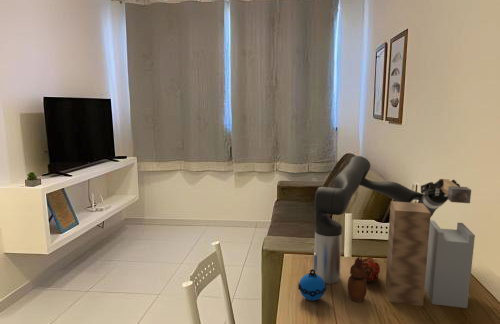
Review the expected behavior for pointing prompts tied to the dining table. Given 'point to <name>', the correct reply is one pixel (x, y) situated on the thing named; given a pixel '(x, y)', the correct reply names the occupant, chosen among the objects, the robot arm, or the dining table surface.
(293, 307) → the dining table surface
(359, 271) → the wooden figurine
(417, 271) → the walnut post
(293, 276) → the dining table surface
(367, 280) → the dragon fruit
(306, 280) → the ornament
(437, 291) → the grey post
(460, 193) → the light wooden block
